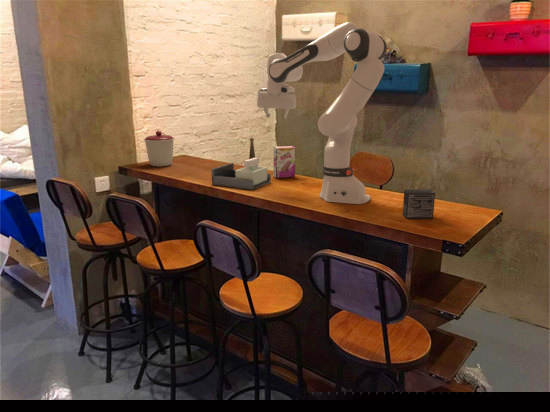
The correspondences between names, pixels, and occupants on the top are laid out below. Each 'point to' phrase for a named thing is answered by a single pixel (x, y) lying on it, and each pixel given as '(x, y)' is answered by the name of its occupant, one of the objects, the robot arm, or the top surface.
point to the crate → (252, 171)
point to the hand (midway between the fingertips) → (276, 117)
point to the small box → (418, 203)
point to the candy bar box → (284, 162)
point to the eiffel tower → (252, 149)
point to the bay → (233, 178)
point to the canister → (159, 149)
